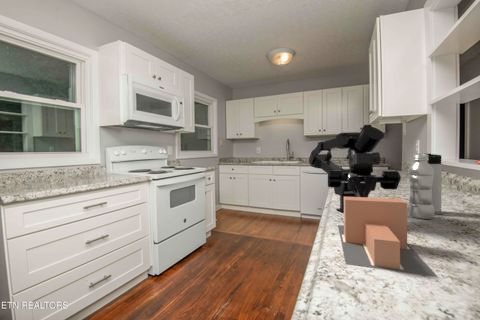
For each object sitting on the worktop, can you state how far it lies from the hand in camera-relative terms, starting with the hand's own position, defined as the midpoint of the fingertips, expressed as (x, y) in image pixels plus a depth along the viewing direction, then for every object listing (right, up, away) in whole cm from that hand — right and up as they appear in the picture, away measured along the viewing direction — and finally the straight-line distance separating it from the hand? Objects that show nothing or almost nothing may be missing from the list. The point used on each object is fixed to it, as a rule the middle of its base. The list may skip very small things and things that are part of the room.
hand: (364, 203), depth 61 cm
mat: (-4, -7, -11) cm, 14 cm away
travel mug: (+30, -6, +15) cm, 34 cm away
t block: (-5, -7, -14) cm, 17 cm away
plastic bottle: (+22, -6, +8) cm, 24 cm away
